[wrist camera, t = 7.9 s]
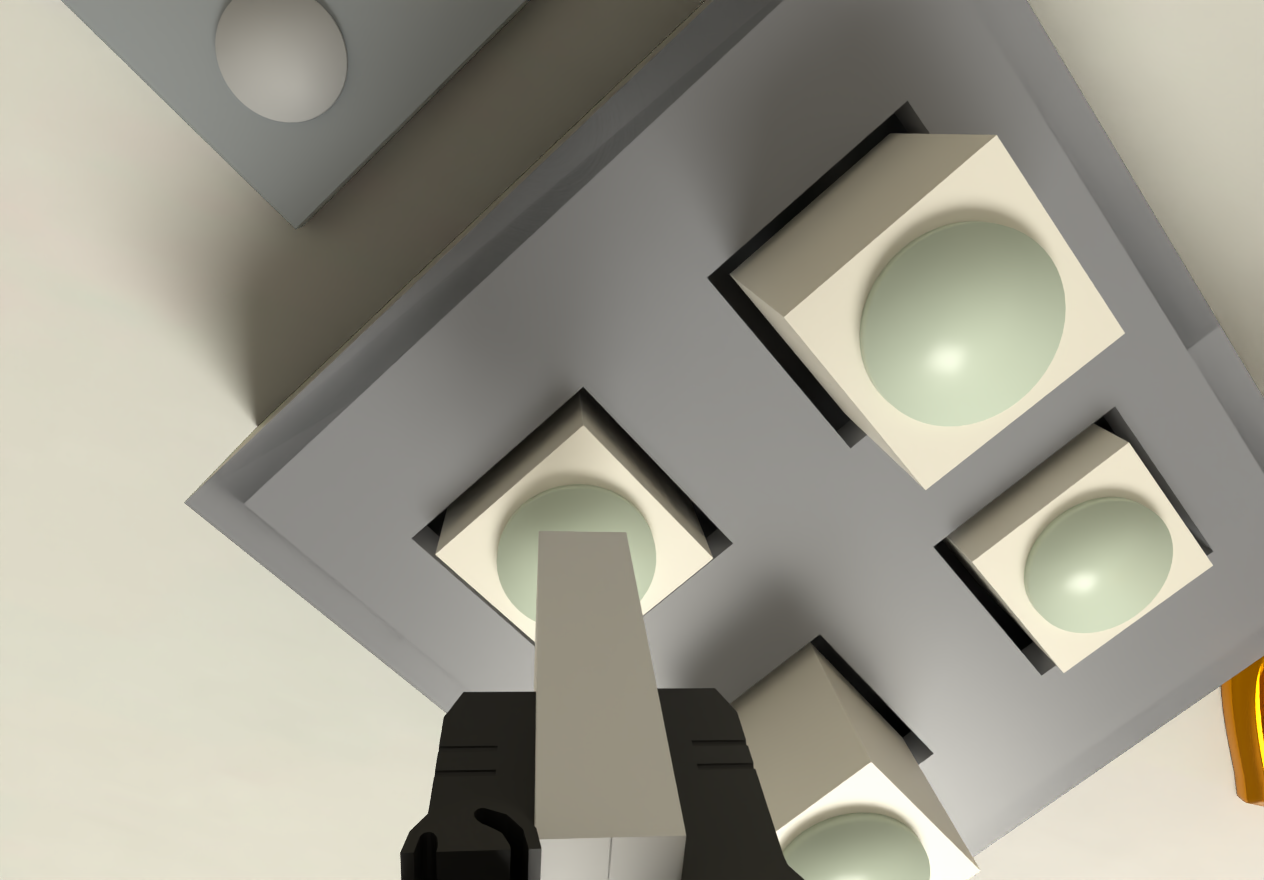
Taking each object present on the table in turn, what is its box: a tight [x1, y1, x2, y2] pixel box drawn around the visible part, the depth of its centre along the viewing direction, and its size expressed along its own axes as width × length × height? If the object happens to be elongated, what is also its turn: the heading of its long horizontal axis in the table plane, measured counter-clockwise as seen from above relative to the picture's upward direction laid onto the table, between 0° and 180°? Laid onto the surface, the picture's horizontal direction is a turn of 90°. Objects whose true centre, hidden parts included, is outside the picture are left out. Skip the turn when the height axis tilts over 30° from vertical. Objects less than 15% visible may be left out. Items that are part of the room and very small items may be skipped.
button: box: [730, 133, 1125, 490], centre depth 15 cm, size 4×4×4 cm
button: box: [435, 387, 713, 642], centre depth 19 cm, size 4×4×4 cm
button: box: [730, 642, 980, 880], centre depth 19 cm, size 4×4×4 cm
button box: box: [184, 0, 1264, 857], centre depth 21 cm, size 20×18×4 cm
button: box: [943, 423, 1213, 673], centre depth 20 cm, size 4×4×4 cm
